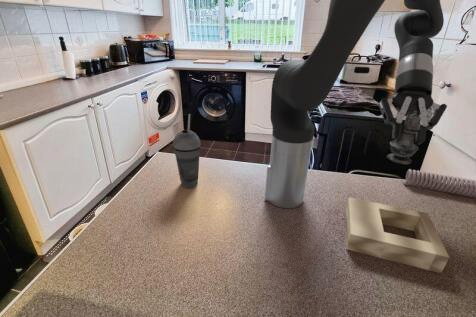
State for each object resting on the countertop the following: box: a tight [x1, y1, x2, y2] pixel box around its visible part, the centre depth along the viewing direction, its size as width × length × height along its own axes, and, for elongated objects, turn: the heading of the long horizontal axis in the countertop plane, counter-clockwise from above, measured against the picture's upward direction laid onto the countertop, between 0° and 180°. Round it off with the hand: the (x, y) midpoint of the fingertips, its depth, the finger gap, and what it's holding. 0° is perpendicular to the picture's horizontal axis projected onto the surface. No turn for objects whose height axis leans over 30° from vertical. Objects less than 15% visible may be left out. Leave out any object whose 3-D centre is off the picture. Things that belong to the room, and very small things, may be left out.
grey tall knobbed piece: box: [386, 110, 421, 165], centre depth 60 cm, size 6×6×12 cm
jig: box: [344, 197, 450, 274], centre depth 54 cm, size 16×13×4 cm
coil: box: [402, 168, 476, 199], centre depth 72 cm, size 5×5×18 cm
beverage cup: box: [172, 113, 202, 189], centre depth 68 cm, size 7×7×20 cm
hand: (408, 141), depth 58 cm, fingers closed on grey tall knobbed piece, 3 cm apart
